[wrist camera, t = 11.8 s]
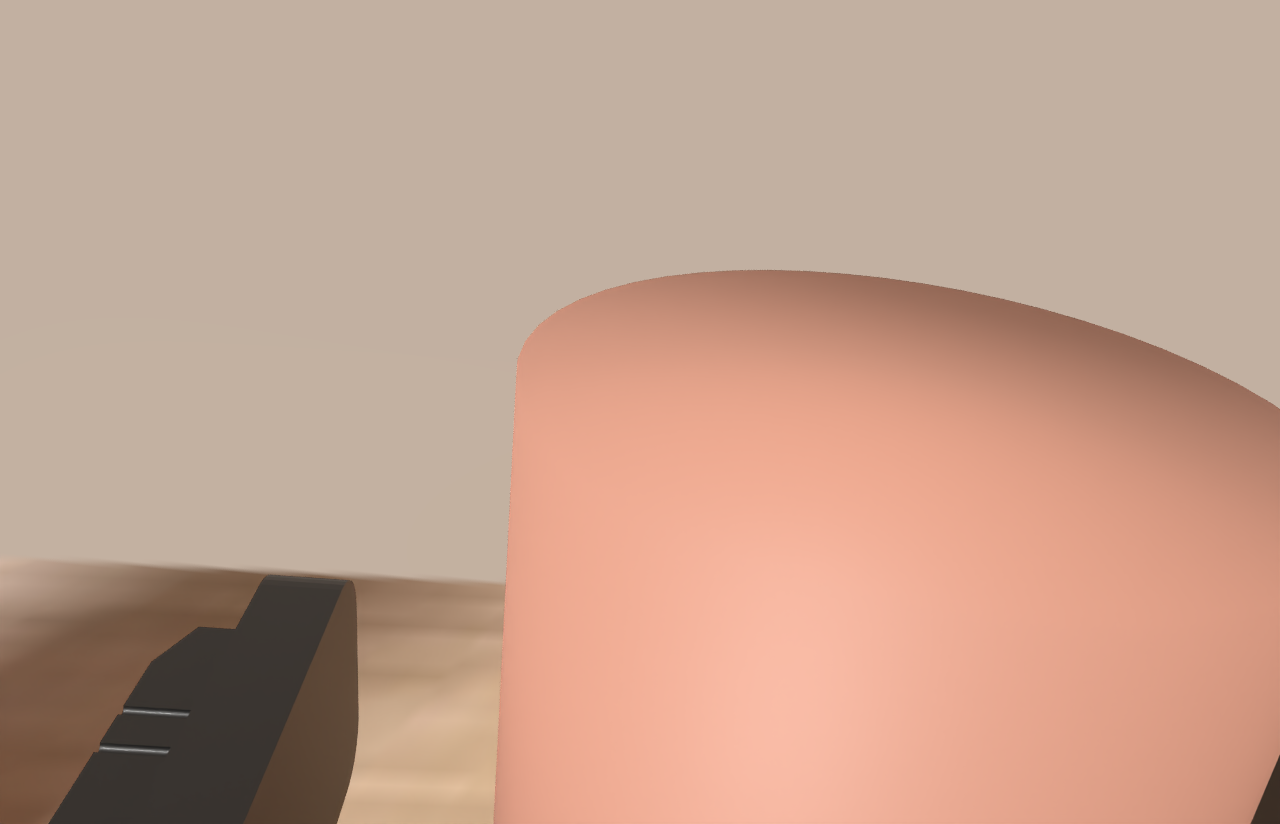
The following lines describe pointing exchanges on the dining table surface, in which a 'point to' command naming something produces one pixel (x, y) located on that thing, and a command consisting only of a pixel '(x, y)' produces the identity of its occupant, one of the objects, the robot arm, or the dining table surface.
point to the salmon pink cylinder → (881, 564)
